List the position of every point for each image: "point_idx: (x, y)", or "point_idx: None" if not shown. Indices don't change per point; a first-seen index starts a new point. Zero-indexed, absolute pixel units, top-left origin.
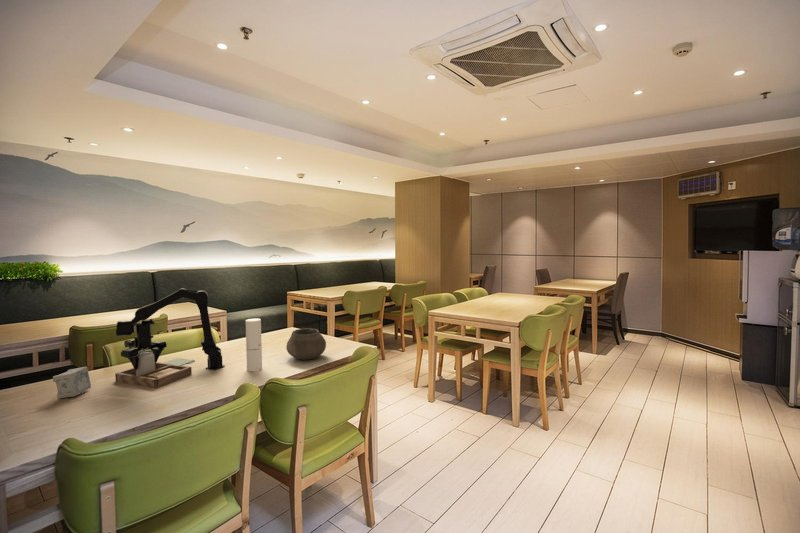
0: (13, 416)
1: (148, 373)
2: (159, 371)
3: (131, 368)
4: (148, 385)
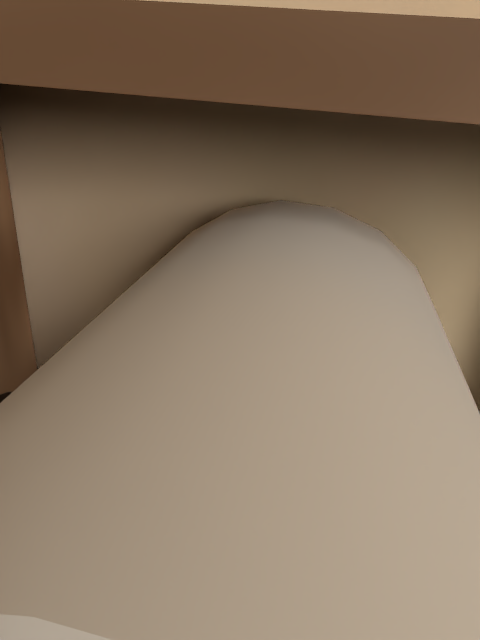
0: None
1: None
2: None
3: (181, 21)
4: None
